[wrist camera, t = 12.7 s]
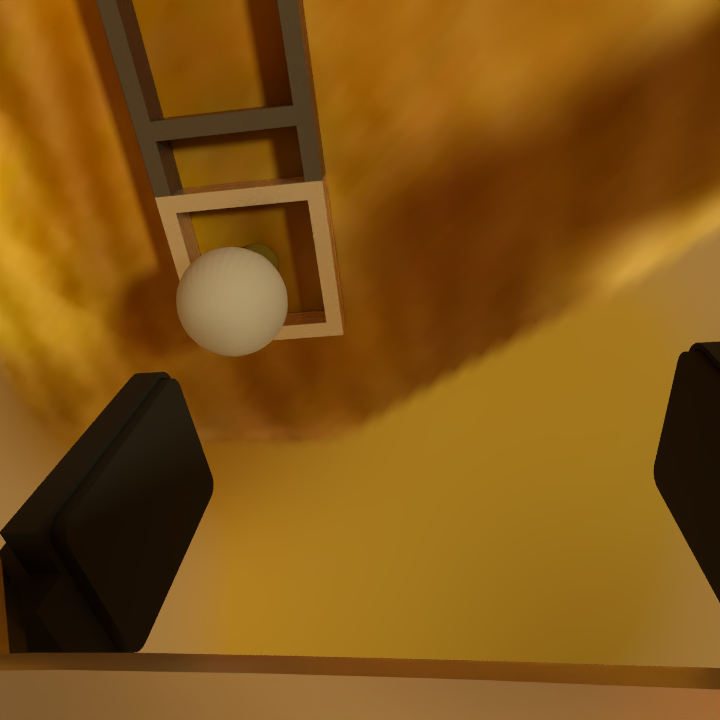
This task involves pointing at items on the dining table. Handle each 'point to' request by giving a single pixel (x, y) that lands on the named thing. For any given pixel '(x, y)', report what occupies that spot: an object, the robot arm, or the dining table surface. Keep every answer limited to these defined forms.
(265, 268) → the light bulb
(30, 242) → the dining table surface
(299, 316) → the rail
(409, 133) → the dining table surface
